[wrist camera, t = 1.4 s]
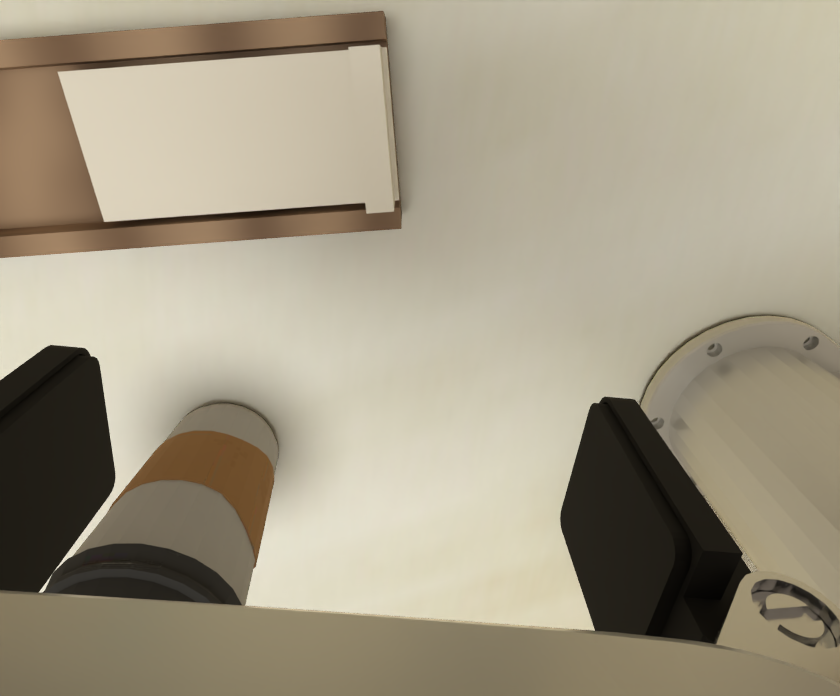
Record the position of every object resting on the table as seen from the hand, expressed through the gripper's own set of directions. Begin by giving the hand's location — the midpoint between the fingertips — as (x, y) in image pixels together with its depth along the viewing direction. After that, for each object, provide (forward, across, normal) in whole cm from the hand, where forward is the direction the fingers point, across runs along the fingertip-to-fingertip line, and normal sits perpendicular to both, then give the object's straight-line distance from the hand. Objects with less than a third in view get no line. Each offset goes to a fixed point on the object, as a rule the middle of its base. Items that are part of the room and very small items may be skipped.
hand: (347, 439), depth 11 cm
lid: (+19, +7, -3) cm, 20 cm away
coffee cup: (+21, +9, +16) cm, 28 cm away
